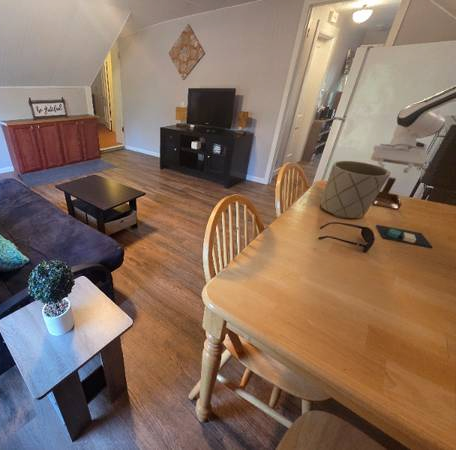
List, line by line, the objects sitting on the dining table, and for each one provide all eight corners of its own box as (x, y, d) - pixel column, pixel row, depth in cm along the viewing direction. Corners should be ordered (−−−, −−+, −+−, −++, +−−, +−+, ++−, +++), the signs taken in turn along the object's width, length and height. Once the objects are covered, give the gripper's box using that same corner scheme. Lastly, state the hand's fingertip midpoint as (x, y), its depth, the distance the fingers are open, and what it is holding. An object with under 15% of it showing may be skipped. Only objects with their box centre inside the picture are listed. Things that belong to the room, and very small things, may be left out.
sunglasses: (370, 257, 82) (378, 245, 80) (317, 242, 89) (322, 231, 87) (366, 238, 92) (373, 226, 89) (319, 226, 99) (323, 215, 96)
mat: (420, 234, 94) (421, 232, 94) (431, 248, 87) (432, 247, 86) (376, 225, 99) (376, 224, 99) (383, 238, 92) (383, 237, 91)
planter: (308, 201, 118) (323, 161, 107) (346, 200, 119) (365, 160, 108) (334, 222, 102) (355, 176, 91) (378, 221, 102) (404, 176, 92)
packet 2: (405, 237, 89) (403, 240, 90) (416, 239, 88) (413, 243, 88) (403, 232, 92) (401, 235, 93) (414, 234, 90) (412, 238, 91)
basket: (369, 193, 126) (379, 175, 121) (394, 198, 121) (405, 179, 116) (370, 204, 116) (381, 184, 111) (398, 210, 111) (410, 189, 106)
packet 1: (388, 231, 92) (386, 234, 93) (398, 235, 90) (396, 238, 91) (392, 228, 94) (389, 231, 95) (401, 231, 92) (399, 235, 93)
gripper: (377, 139, 125) (369, 163, 123) (432, 145, 115) (424, 171, 113) (373, 146, 130) (365, 169, 129) (424, 152, 120) (416, 177, 119)
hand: (393, 170), depth 121 cm, fingers open, 8 cm apart
